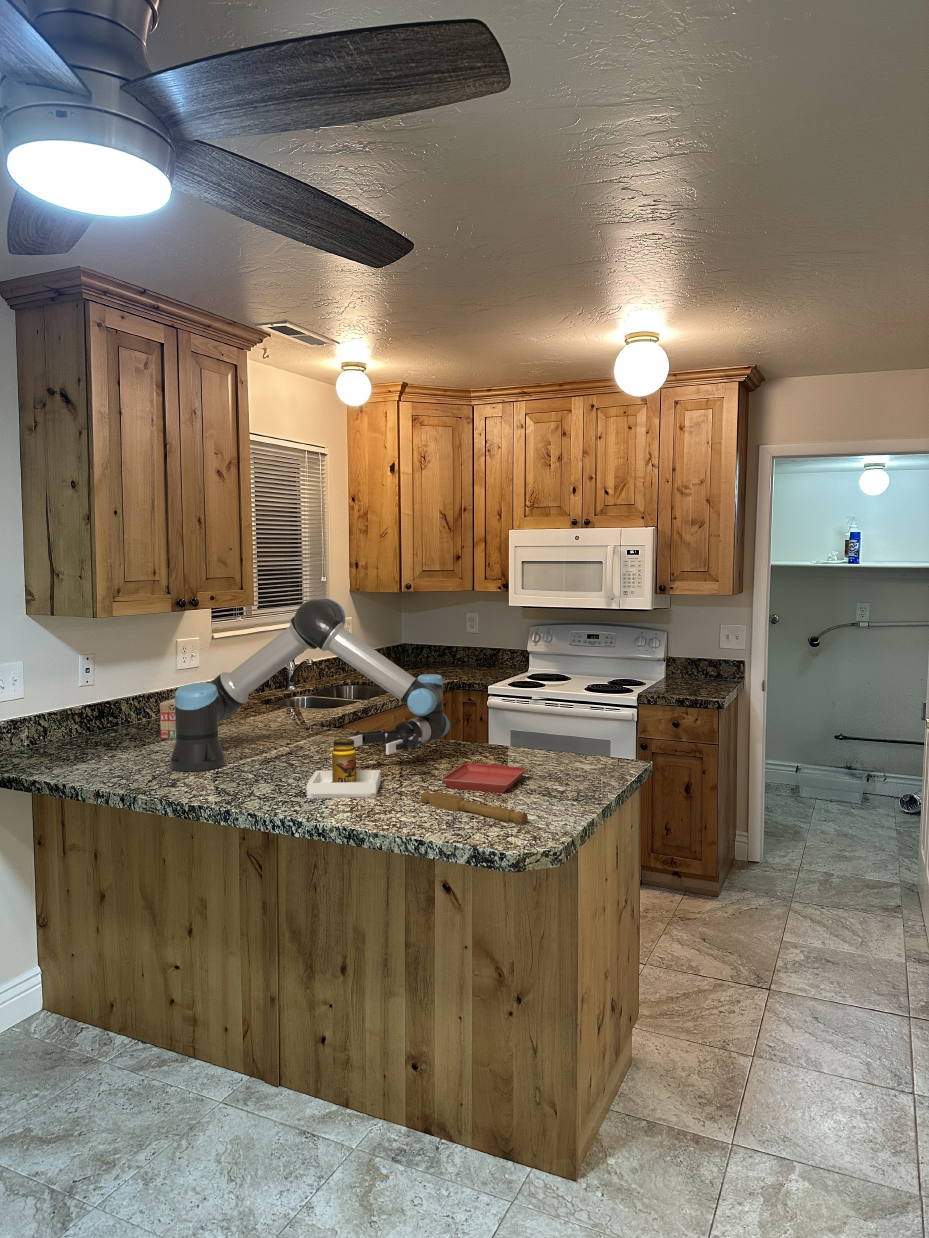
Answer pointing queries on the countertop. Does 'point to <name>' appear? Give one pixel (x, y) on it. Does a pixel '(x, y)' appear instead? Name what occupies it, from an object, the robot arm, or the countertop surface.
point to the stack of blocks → (168, 719)
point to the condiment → (343, 761)
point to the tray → (344, 785)
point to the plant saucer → (483, 777)
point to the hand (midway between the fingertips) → (366, 746)
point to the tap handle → (472, 807)
